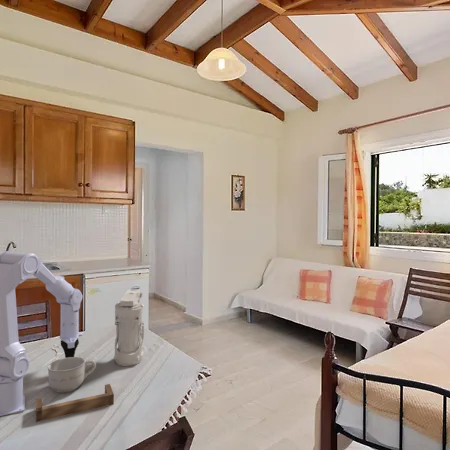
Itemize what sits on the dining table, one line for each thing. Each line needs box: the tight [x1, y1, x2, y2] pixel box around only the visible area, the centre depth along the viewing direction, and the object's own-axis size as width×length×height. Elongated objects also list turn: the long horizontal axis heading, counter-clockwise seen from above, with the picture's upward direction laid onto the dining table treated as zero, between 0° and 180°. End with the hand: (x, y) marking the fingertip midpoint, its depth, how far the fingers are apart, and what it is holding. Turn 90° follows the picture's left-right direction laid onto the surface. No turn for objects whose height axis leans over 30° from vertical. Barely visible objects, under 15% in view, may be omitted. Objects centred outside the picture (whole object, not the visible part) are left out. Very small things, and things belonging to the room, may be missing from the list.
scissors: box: [41, 343, 80, 368], centre depth 135 cm, size 11×1×20 cm
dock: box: [35, 383, 115, 423], centre depth 102 cm, size 20×7×3 cm, turn 117°
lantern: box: [113, 288, 145, 367], centre depth 133 cm, size 13×10×25 cm
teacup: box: [47, 356, 97, 393], centre depth 112 cm, size 14×11×8 cm
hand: (69, 360), depth 123 cm, fingers closed
